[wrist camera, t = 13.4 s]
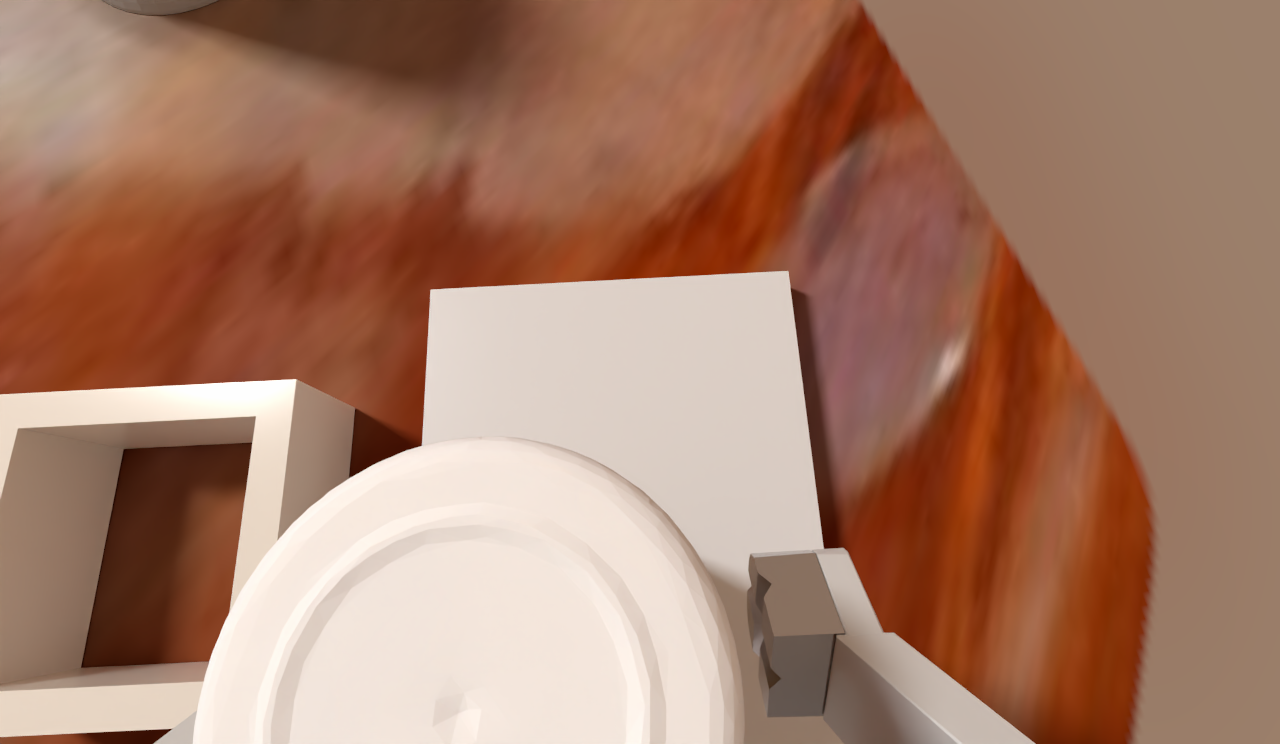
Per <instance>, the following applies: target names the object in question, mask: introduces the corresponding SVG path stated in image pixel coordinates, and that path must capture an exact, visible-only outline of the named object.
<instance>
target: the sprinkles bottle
mask: <svg viewBox="0 0 1280 744" xmlns="http://www.w3.org/2000/svg"><path fill="white" fill-rule="evenodd" d="M744 731H745V718H744V698H743V688H742V678H741V670H740V665H739V660H738V655H737V650H736V644H735V639H734V636H733V633H732V630H731V627H730V624H729V620H728V617H727V614H726V611H725V608H724V605H723V603H722V601H721V598H720V596H719V594H718V592H717V589H716V587H715V585H714V583H713V580H712V578H711V576H710V574H709V572H708V571H707V569H706V567H705V566H704V564H703V562H702V560H701V559H700V557H699V555H698V554H697V552H696V550H695V549H694V547H693V546H692V545H691V543H690V542H689V541H688V539H687V538H686V537H685V535H684V534H683V533H682V532H681V530H680V529H679V528H678V526H677V525H676V524H675V523H674V521H673V520H672V519H671V518H670V516H669V515H668V514H667V513H666V512H665V511H664V510H663V509H662V508H661V507H659V506H658V505H657V504H656V503H655V502H654V501H653V500H652V499H651V498H650V497H649V496H648V495H647V494H646V493H645V492H644V491H642V490H641V489H640V488H638V487H637V486H635V485H634V484H632V483H631V482H629V481H628V480H627V479H625V478H624V477H622V476H621V475H619V474H618V473H617V472H615V471H614V470H612V469H610V468H608V467H606V466H605V465H603V464H601V463H599V462H597V461H595V460H593V459H591V458H589V457H586V456H584V455H582V454H579V453H577V452H574V451H572V450H569V449H565V448H562V447H559V446H556V445H552V444H549V443H543V442H538V441H533V440H528V439H523V438H516V437H500V436H481V437H471V438H460V439H453V440H447V441H442V442H437V443H431V444H427V445H423V446H420V447H417V448H413V449H410V450H406V451H404V452H402V453H399V454H397V455H394V456H392V457H390V458H387V459H385V460H383V461H380V462H378V463H375V464H374V465H372V466H370V467H368V468H367V469H365V470H363V471H361V472H360V473H358V474H356V475H354V476H353V477H351V478H349V479H348V480H346V481H345V482H343V483H341V484H340V485H338V486H337V487H335V488H334V489H332V490H331V491H329V492H328V493H327V494H326V495H325V496H324V497H322V498H321V499H320V500H318V501H317V502H316V503H314V504H313V505H312V506H311V507H309V508H308V509H307V510H306V511H305V512H304V513H303V514H302V515H301V516H300V517H299V518H298V519H297V520H296V521H294V522H293V524H292V525H291V526H290V527H289V528H288V529H287V530H286V532H285V533H284V534H283V535H282V536H281V537H280V538H279V540H278V541H277V542H276V543H275V544H274V545H273V547H272V548H271V549H270V550H269V551H268V552H267V553H266V555H265V556H264V557H263V559H262V560H261V562H260V563H259V565H258V566H257V568H256V569H255V571H254V572H253V574H252V575H251V576H250V578H249V579H248V581H247V582H246V584H245V585H244V587H243V588H242V590H241V591H240V593H239V595H238V597H237V599H236V601H235V603H234V605H233V607H232V609H231V611H230V613H229V615H228V617H227V619H226V621H225V623H224V625H223V628H222V630H221V633H220V635H219V638H218V640H217V643H216V645H215V647H214V650H213V652H212V655H211V658H210V661H209V665H208V668H207V671H206V674H205V678H204V682H203V686H202V690H201V694H200V698H199V703H198V708H197V714H196V719H195V725H194V734H193V744H743V743H744Z"/></svg>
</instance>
